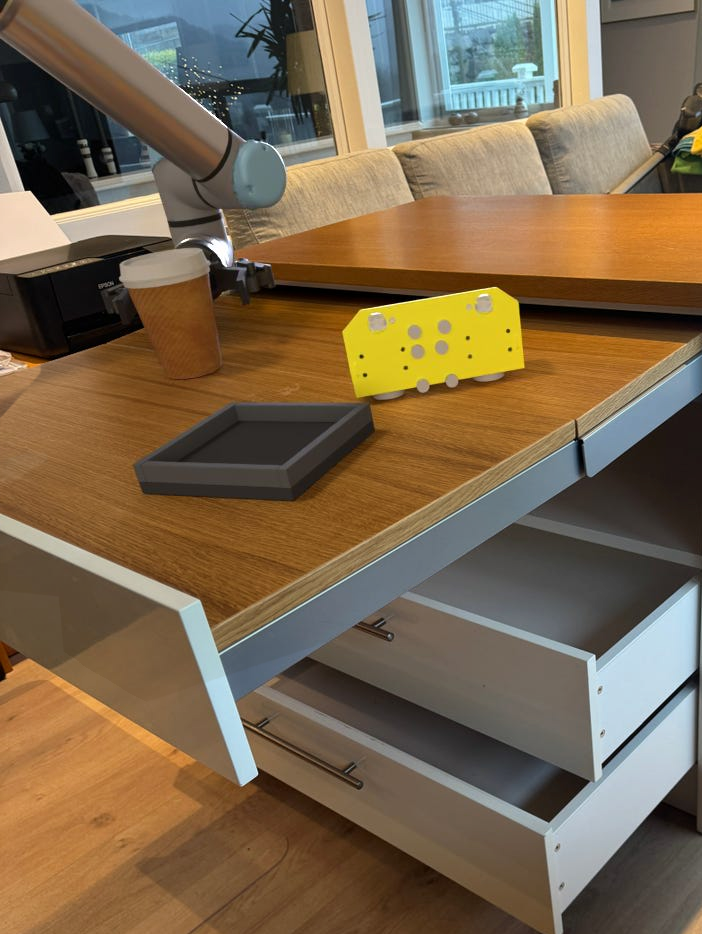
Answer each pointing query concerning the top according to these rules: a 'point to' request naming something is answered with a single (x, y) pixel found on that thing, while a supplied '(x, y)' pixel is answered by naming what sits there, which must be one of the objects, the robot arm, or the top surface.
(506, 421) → the top surface
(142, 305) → the disposable coffee cup
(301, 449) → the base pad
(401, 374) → the yellow toy chassis
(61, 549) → the top surface
